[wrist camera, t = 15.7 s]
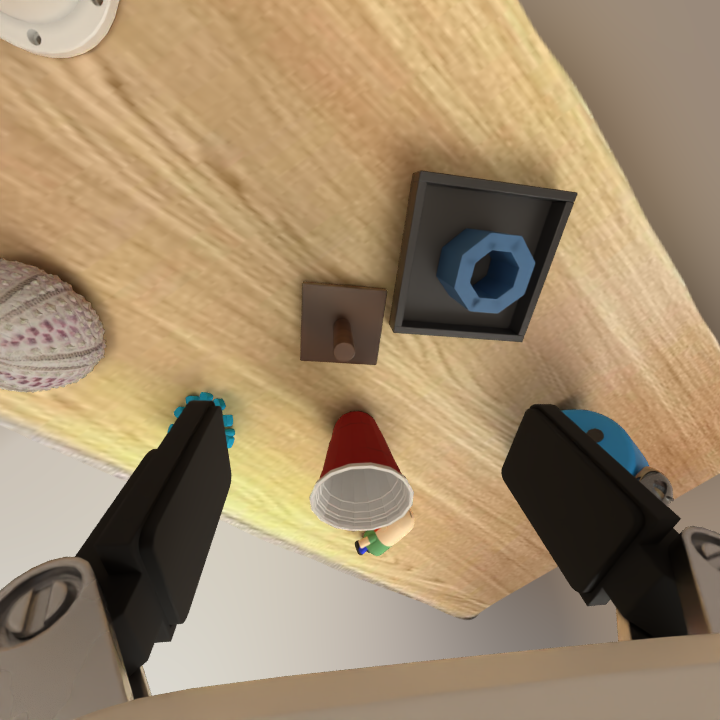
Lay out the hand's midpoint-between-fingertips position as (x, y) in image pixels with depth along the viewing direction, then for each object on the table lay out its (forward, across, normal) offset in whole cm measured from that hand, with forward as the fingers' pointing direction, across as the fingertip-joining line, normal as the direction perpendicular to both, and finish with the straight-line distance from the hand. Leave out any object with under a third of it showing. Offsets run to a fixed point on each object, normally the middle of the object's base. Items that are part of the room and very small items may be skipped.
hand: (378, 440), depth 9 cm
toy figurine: (+25, -10, +40) cm, 49 cm away
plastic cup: (+26, -3, +21) cm, 33 cm away
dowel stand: (+26, 0, +6) cm, 27 cm away
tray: (+26, -14, -2) cm, 29 cm away
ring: (+25, -14, -2) cm, 29 cm away
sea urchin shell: (+27, +30, +7) cm, 41 cm away
